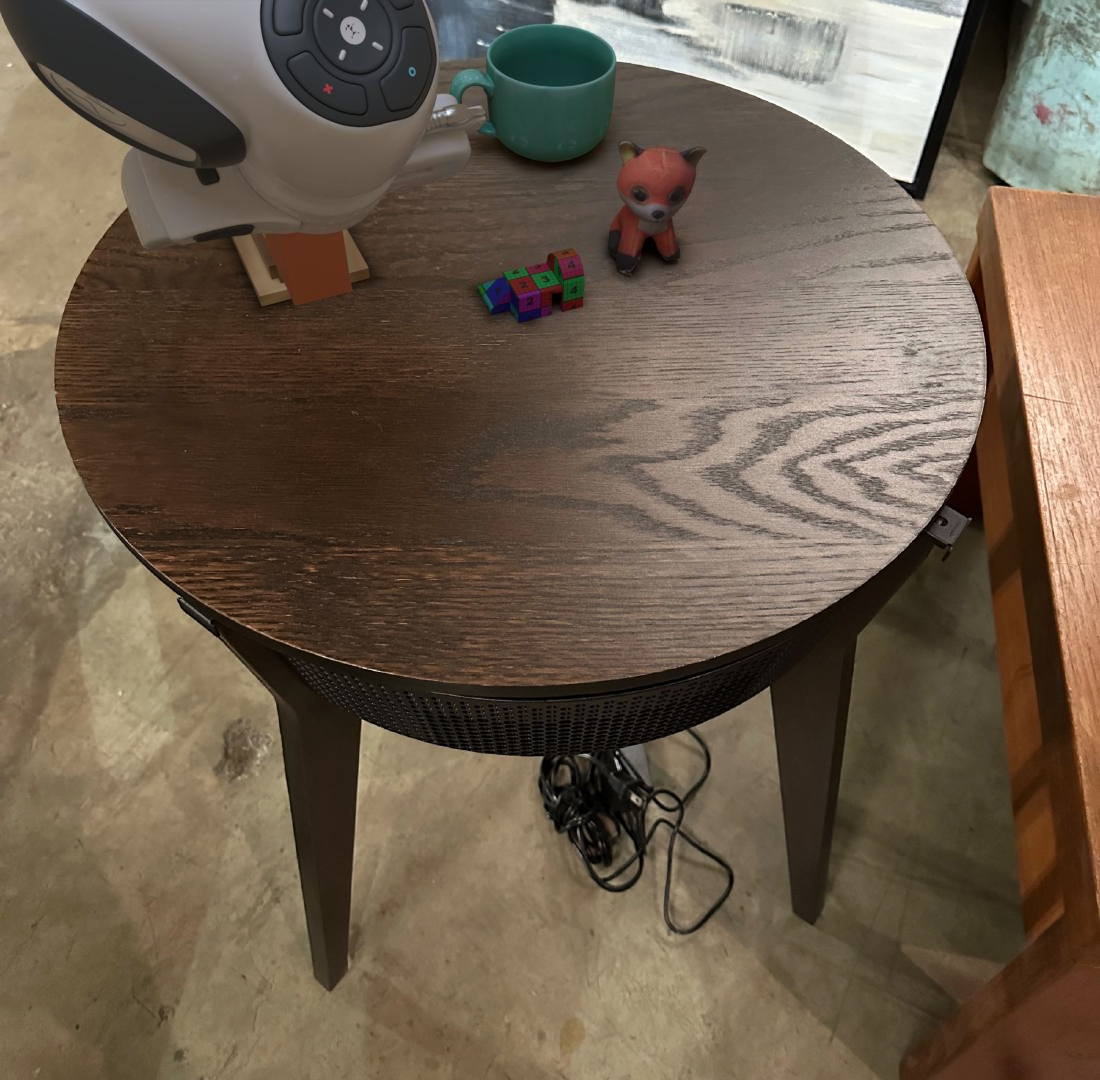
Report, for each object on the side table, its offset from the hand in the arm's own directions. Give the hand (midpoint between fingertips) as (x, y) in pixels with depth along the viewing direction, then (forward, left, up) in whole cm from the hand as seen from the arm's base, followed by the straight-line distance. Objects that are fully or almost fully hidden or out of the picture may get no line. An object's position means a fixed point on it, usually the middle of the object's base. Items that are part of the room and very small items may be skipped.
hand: (293, 202), depth 68 cm
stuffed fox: (+30, +17, -20) cm, 40 cm away
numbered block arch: (+18, +11, -20) cm, 29 cm away
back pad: (0, -1, -5) cm, 5 cm away
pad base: (-3, +23, -19) cm, 31 cm away
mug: (+22, +35, -20) cm, 46 cm away
